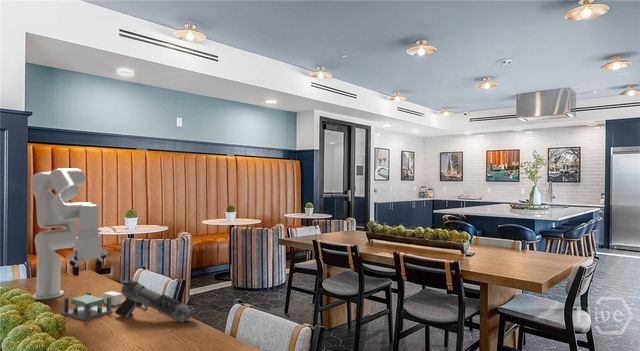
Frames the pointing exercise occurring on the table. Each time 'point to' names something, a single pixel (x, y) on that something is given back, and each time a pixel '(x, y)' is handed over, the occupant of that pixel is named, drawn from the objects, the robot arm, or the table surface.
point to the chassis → (86, 310)
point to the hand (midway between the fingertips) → (87, 273)
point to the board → (87, 300)
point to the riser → (113, 297)
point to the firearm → (151, 302)
